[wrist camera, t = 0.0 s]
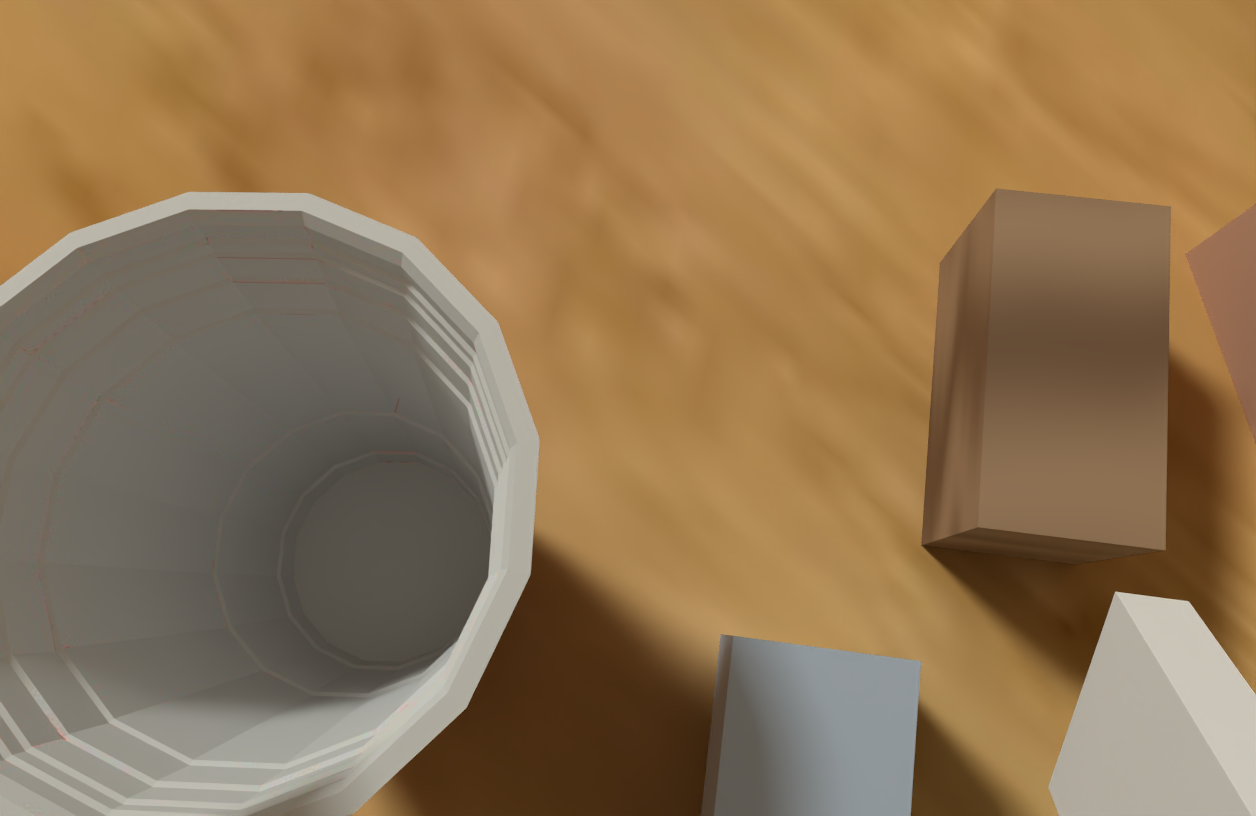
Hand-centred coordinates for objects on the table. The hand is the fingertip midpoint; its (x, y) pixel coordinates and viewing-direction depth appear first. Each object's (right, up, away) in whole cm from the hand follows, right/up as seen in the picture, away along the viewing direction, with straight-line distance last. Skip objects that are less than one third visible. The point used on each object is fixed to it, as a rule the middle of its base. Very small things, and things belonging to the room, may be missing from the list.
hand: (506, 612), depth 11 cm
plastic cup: (-5, -2, +16) cm, 17 cm away
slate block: (+5, -8, +14) cm, 17 cm away
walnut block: (+12, +2, +16) cm, 20 cm away
